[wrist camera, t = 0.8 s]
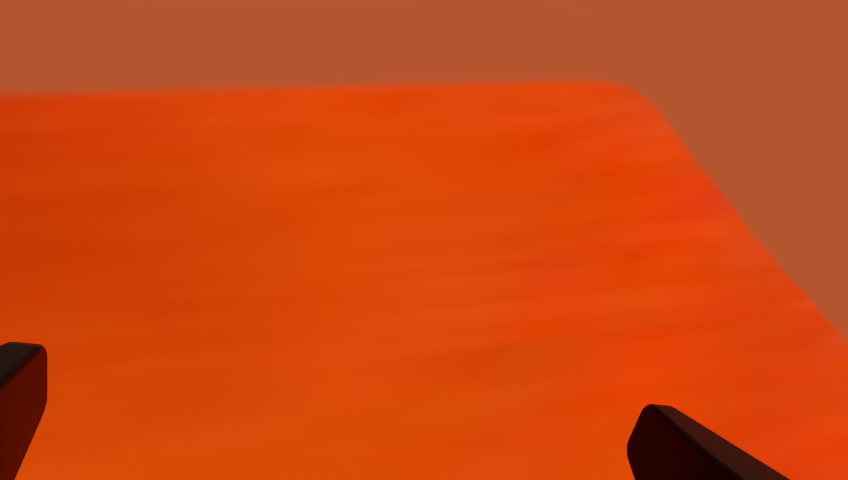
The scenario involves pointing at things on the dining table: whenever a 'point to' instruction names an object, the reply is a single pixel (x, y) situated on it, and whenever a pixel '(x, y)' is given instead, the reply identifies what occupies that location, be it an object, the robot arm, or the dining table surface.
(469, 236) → the dining table surface
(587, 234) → the dining table surface
